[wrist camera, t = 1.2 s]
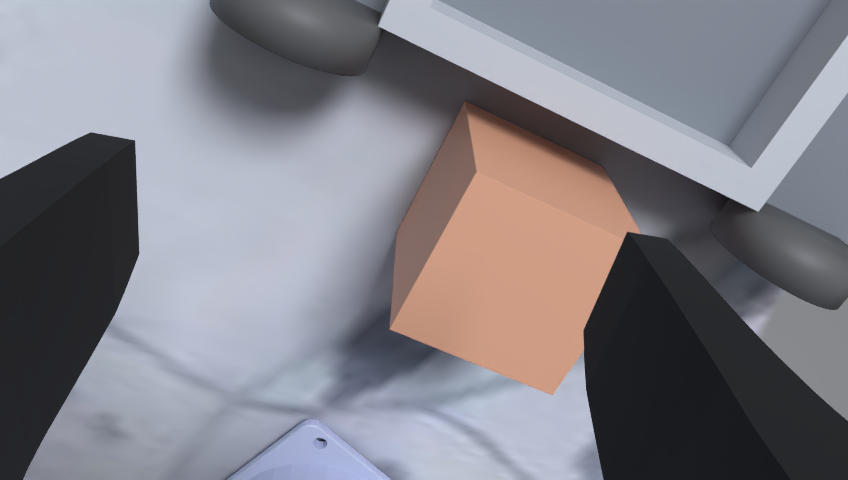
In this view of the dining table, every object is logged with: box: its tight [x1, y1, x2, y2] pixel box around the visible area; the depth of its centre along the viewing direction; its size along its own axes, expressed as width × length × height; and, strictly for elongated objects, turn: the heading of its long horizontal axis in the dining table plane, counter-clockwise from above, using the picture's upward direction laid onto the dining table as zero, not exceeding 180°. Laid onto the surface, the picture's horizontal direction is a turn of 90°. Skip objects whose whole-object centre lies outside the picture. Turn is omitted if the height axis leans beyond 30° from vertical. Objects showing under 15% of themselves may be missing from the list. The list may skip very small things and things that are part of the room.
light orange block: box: [390, 101, 641, 395], centre depth 23 cm, size 5×5×6 cm
